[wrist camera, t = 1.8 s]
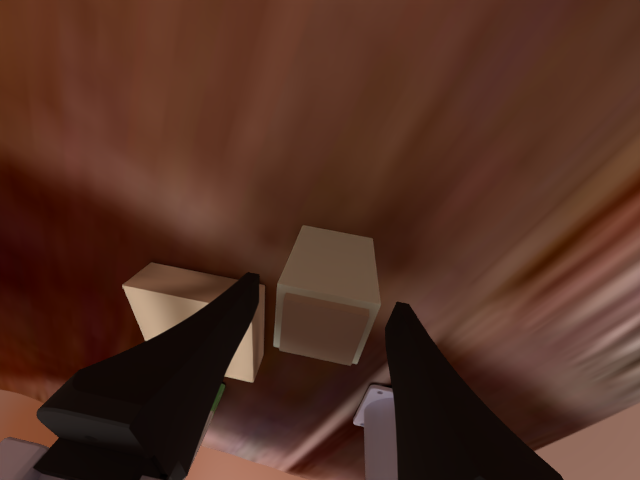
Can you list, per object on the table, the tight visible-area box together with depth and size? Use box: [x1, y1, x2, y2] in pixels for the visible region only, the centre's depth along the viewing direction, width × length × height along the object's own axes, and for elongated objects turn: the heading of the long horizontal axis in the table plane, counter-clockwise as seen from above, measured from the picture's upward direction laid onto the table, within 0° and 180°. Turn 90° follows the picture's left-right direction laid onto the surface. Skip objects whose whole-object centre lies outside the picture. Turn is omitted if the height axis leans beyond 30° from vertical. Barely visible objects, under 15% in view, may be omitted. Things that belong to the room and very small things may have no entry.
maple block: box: [122, 262, 265, 382], centre depth 19 cm, size 9×9×3 cm
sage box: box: [274, 225, 381, 366], centre depth 13 cm, size 4×4×6 cm
